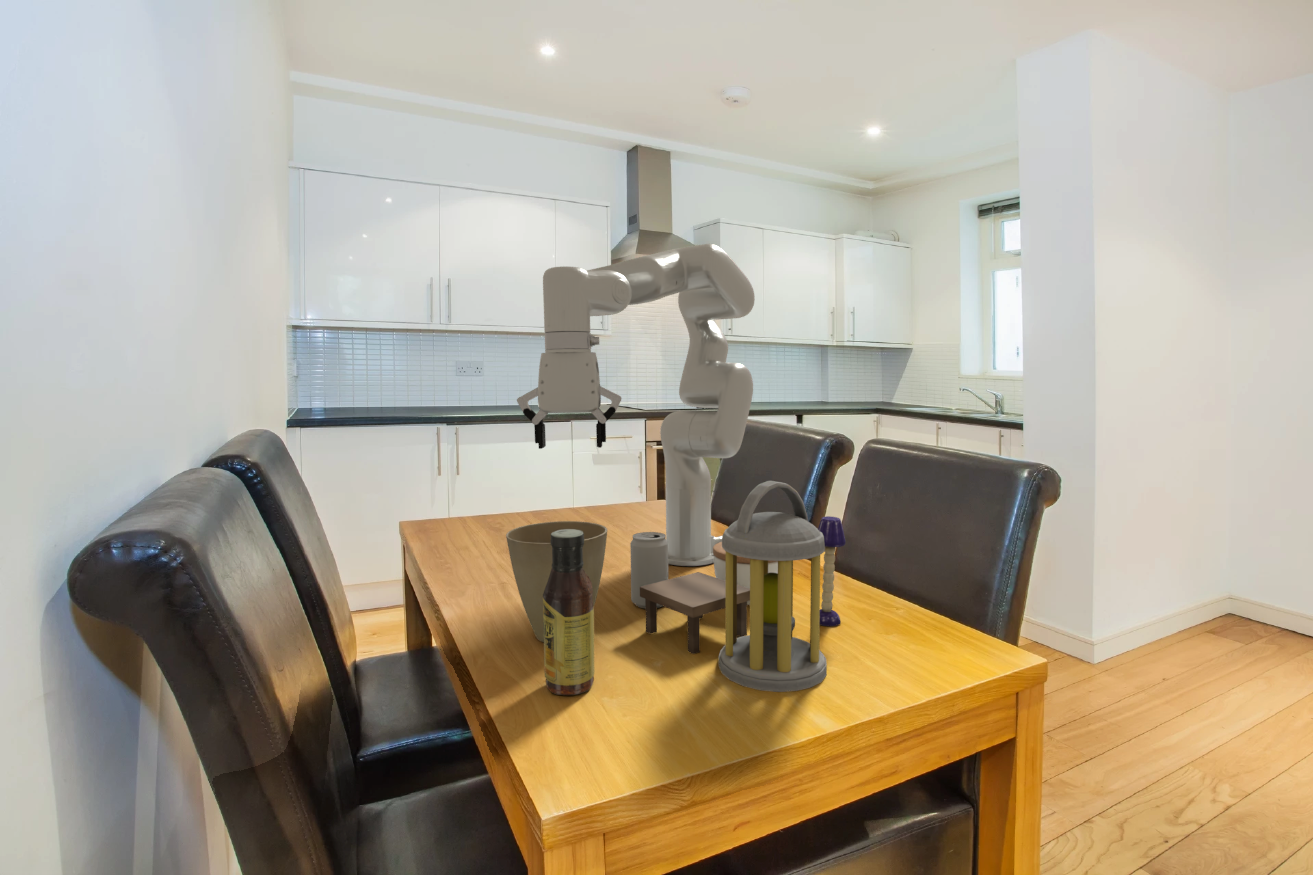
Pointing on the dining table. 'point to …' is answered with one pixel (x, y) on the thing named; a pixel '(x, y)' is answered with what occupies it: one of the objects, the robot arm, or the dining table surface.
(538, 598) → the plant pot
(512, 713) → the dining table surface
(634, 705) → the dining table surface
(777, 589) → the lantern
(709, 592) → the small brown table
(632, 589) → the beverage can
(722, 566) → the lidded bowl
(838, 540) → the toy lamp
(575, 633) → the sauce bottle
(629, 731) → the dining table surface
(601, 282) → the robot arm
